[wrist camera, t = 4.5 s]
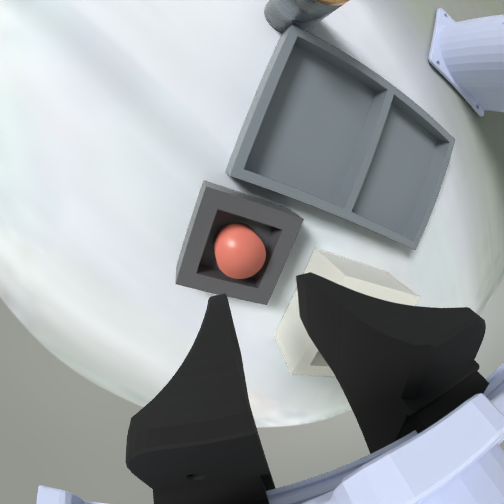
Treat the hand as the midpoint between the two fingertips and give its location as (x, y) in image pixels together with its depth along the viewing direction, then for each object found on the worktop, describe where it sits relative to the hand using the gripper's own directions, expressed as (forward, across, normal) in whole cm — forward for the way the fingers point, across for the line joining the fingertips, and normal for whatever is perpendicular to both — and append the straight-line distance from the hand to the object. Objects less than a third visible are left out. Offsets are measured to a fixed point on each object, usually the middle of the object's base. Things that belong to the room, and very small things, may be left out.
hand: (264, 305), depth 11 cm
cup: (+8, -7, +8) cm, 13 cm away
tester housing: (+8, 0, 0) cm, 8 cm away
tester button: (+7, 0, 0) cm, 7 cm away
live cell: (+8, -6, -15) cm, 18 cm away
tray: (+8, -10, -5) cm, 14 cm away
